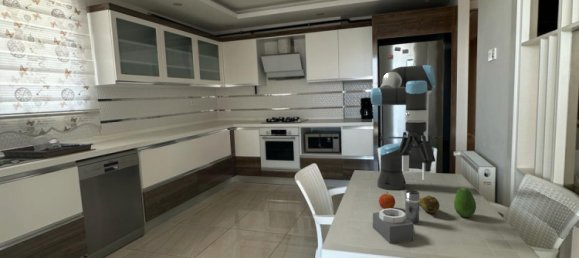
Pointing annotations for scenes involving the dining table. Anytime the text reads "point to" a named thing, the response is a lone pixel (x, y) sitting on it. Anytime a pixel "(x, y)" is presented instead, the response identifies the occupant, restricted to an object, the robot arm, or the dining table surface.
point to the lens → (412, 206)
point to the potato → (429, 204)
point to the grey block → (393, 225)
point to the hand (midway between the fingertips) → (415, 175)
